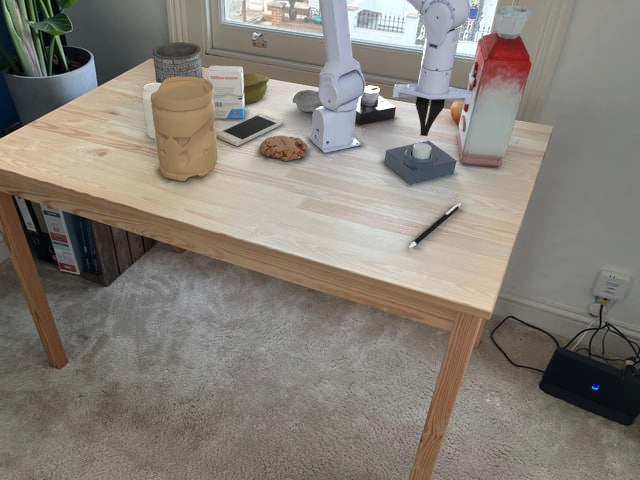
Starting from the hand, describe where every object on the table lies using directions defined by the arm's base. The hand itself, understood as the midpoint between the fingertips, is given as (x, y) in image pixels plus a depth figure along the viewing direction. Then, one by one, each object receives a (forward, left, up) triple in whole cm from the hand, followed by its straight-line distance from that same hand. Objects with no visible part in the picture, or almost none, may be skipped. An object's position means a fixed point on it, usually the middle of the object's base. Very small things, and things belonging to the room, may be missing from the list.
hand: (423, 133), depth 116 cm
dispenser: (+2, +2, -9) cm, 10 cm away
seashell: (-6, +37, -9) cm, 39 cm away
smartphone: (-25, +33, -9) cm, 43 cm away
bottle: (+18, +3, -9) cm, 21 cm away
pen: (-8, -18, -9) cm, 22 cm away
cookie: (-22, +20, -9) cm, 31 cm away
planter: (-35, +59, -9) cm, 69 cm away
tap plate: (+6, +30, -9) cm, 32 cm away
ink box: (-27, +44, -9) cm, 52 cm away
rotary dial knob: (+6, +30, -6) cm, 31 cm away
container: (-44, +21, -9) cm, 50 cm away
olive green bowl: (-19, +51, -9) cm, 55 cm away
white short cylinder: (0, -1, -5) cm, 5 cm away
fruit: (+25, +16, -9) cm, 31 cm away
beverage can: (-45, +39, -9) cm, 61 cm away
